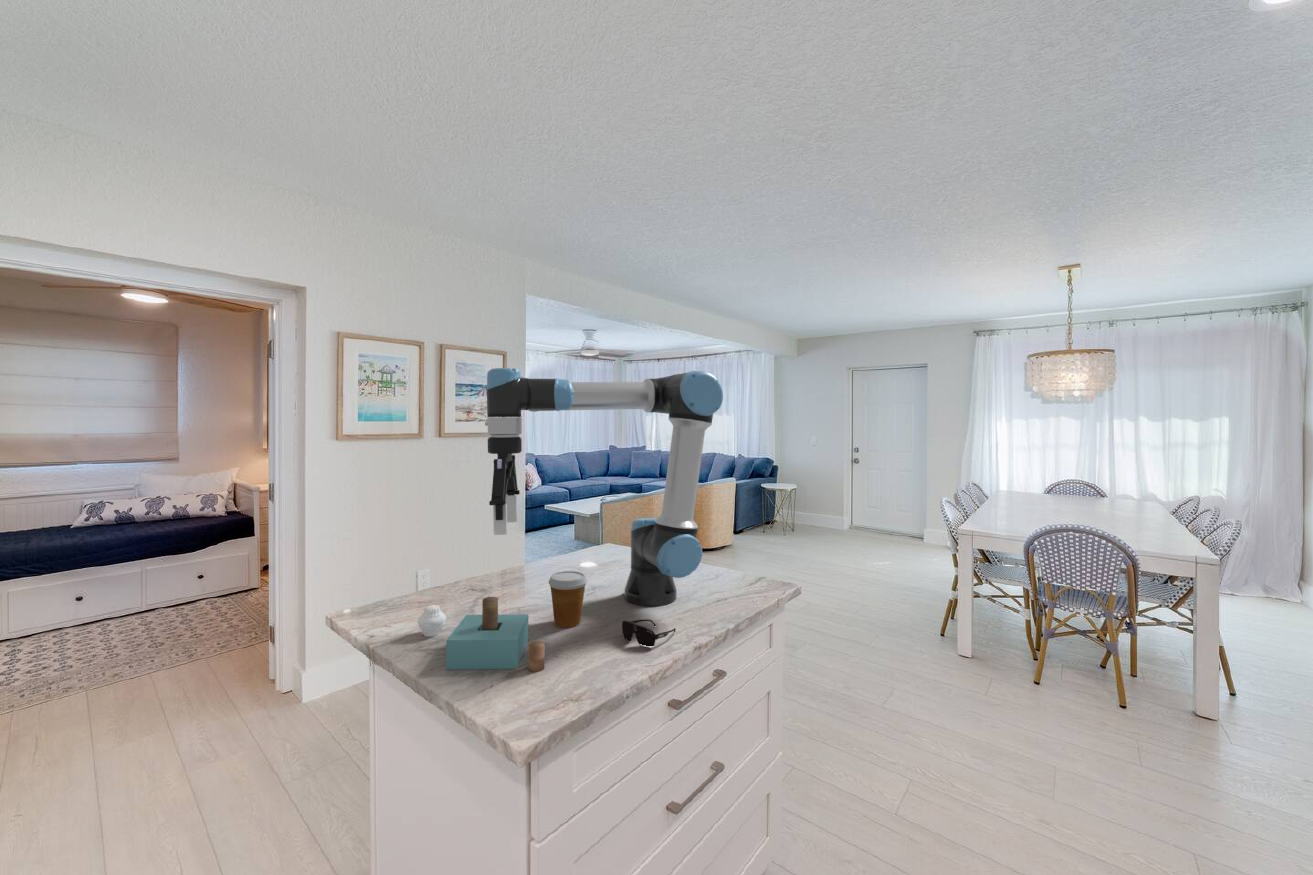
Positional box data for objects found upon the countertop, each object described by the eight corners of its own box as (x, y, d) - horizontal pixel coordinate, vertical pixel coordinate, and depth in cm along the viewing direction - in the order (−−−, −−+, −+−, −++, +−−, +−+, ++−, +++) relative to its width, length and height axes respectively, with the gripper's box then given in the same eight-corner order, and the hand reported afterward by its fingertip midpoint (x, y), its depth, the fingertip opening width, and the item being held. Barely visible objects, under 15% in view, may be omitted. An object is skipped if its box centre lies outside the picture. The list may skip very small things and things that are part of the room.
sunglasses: (615, 639, 123) (618, 617, 123) (648, 631, 132) (650, 610, 132) (650, 652, 116) (652, 629, 116) (682, 643, 125) (684, 621, 126)
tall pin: (498, 650, 115) (499, 596, 115) (495, 657, 112) (496, 601, 112) (483, 650, 115) (484, 596, 115) (480, 657, 112) (480, 601, 112)
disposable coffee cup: (540, 627, 129) (541, 578, 129) (560, 614, 138) (561, 568, 137) (574, 633, 126) (575, 583, 125) (593, 619, 135) (593, 572, 134)
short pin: (545, 664, 109) (545, 640, 109) (543, 671, 106) (543, 647, 106) (529, 664, 109) (530, 640, 109) (527, 672, 106) (527, 647, 106)
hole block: (528, 639, 121) (528, 614, 121) (516, 668, 107) (516, 639, 107) (466, 640, 120) (466, 614, 120) (446, 669, 106) (446, 640, 106)
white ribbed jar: (416, 641, 119) (416, 610, 119) (418, 631, 125) (418, 601, 125) (445, 637, 122) (446, 607, 122) (446, 627, 127) (446, 599, 127)
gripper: (498, 434, 133) (499, 517, 133) (475, 438, 108) (476, 540, 109) (528, 434, 133) (529, 517, 134) (512, 438, 109) (513, 539, 110)
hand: (505, 527), depth 122 cm, fingers open, 13 cm apart
